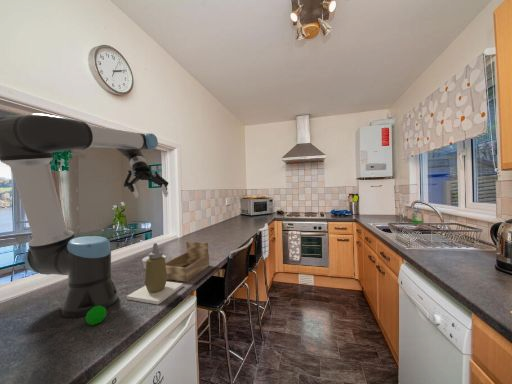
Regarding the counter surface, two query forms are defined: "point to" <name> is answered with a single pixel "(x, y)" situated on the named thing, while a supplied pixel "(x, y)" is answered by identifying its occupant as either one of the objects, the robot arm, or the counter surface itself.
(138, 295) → the cutting board
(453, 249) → the counter surface
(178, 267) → the wooden box
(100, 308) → the polyhedron
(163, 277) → the squeeze bottle
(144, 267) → the ramekin
